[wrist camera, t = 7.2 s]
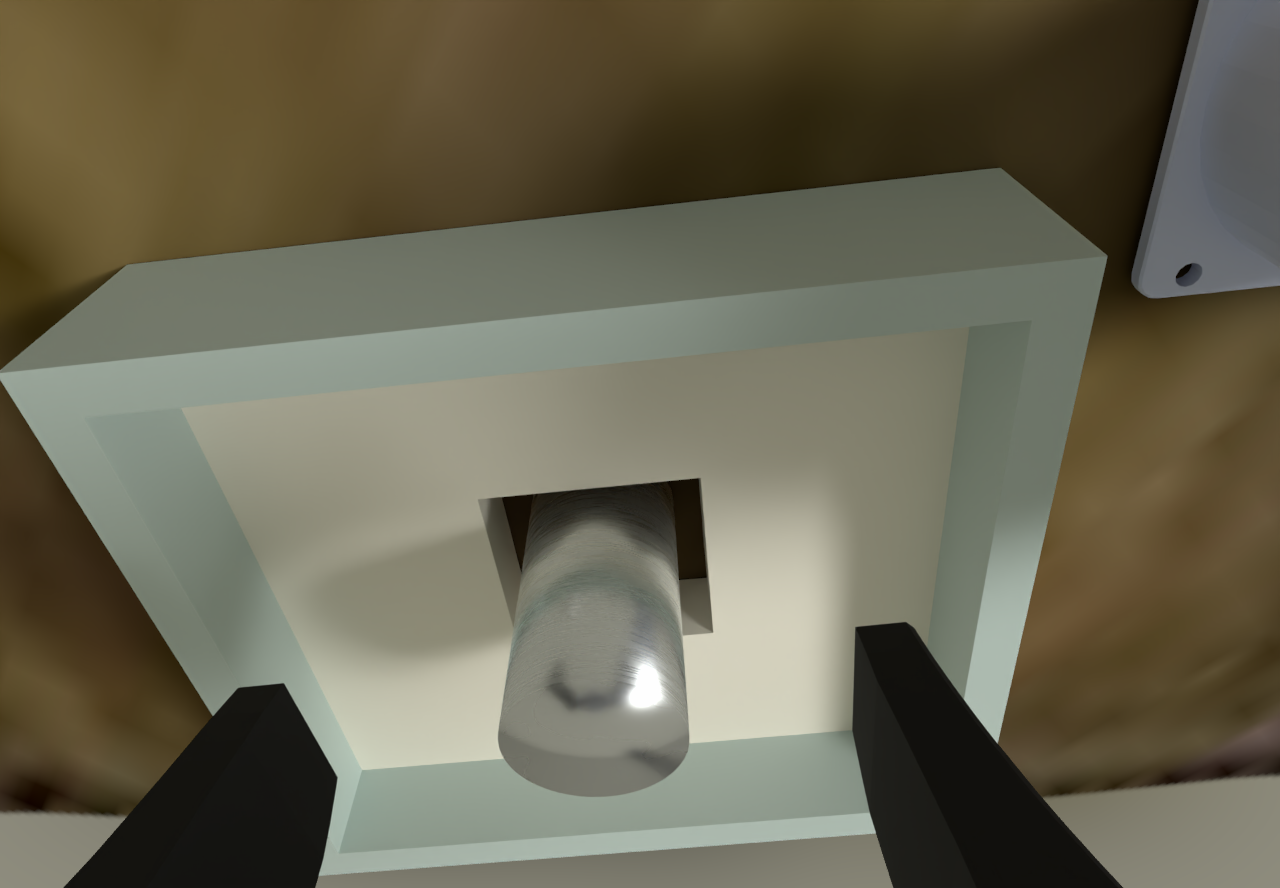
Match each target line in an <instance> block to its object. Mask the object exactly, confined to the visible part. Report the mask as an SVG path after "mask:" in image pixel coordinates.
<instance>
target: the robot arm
mask: <svg viewBox="0 0 1280 888" xmlns="http://www.w3.org/2000/svg"><path fill="white" fill-rule="evenodd" d="M1191 263H1192V266H1191V268H1190V270H1189V271H1188V273H1186V274H1185V275H1184V276H1183V277H1180V278H1177V279H1176V275H1177V273H1178V272H1179V270H1180V269H1181V268H1183V267H1184V266H1185V265H1187V264H1191ZM1131 282H1132V283H1133V285H1134V287H1135V288H1136V289H1137V290H1138V291H1139V292H1140V293H1142V294H1143V295H1145V296H1147V297H1148V298H1166V297H1176V296H1185V295H1195V294H1205V293H1214V292H1224V291H1234V290H1243V289H1253V288H1263V287H1272V286H1280V0H1199V2H1198V6H1197V10H1196V14H1195V18H1194V22H1193V26H1192V31H1191V35H1190V39H1189V43H1188V47H1187V51H1186V55H1185V59H1184V63H1183V67H1182V71H1181V75H1180V79H1179V83H1178V87H1177V91H1176V95H1175V100H1174V104H1173V108H1172V112H1171V116H1170V120H1169V124H1168V128H1167V132H1166V136H1165V140H1164V144H1163V148H1162V152H1161V156H1160V160H1159V164H1158V168H1157V173H1156V177H1155V181H1154V185H1153V189H1152V193H1151V197H1150V201H1149V205H1148V209H1147V213H1146V217H1145V221H1144V225H1143V229H1142V233H1141V237H1140V241H1139V246H1138V250H1137V254H1136V258H1135V262H1134V266H1133V270H1132V279H1131ZM852 732H853V737H854V742H855V746H856V751H857V756H858V761H859V766H860V770H861V775H862V780H863V784H864V789H865V794H866V798H867V803H868V807H869V812H870V815H871V819H872V822H873V825H874V828H875V831H876V835H877V838H878V841H879V844H880V847H881V850H882V854H883V857H884V860H885V863H886V866H887V869H888V872H889V876H890V879H891V882H892V885H893V888H1123V887H1122V886H1121V885H1120V884H1119V883H1118V882H1117V881H1116V880H1115V878H1114V877H1113V876H1112V875H1111V874H1110V873H1109V872H1108V871H1107V870H1106V869H1105V868H1104V867H1103V866H1102V865H1101V864H1100V862H1099V861H1098V860H1097V859H1096V858H1095V857H1094V856H1093V855H1092V854H1091V853H1090V851H1089V850H1088V849H1087V848H1086V847H1085V846H1084V845H1083V844H1082V842H1081V841H1080V840H1079V839H1078V838H1077V837H1076V836H1075V835H1074V834H1073V833H1072V831H1071V830H1070V829H1069V828H1068V827H1067V826H1066V825H1065V824H1064V822H1063V821H1062V820H1061V819H1060V818H1059V817H1058V816H1057V814H1056V813H1055V812H1054V811H1053V810H1052V809H1051V808H1050V806H1049V805H1048V804H1047V803H1046V802H1045V801H1044V799H1043V798H1042V797H1041V796H1040V795H1039V794H1038V792H1037V791H1036V790H1035V789H1034V788H1033V786H1032V785H1031V784H1030V783H1029V781H1028V780H1027V779H1026V778H1025V777H1024V775H1023V774H1022V773H1021V772H1020V770H1019V769H1018V768H1017V767H1016V766H1015V764H1014V763H1013V762H1012V761H1011V759H1010V758H1009V757H1008V756H1007V755H1006V753H1005V752H1004V751H1003V750H1002V748H1001V747H1000V746H999V745H998V744H997V742H996V741H995V740H994V738H993V737H992V736H991V735H990V733H989V732H988V731H987V730H986V728H985V727H984V726H983V724H982V723H981V722H980V720H979V719H978V718H977V717H976V715H975V714H974V713H973V711H972V710H971V708H970V707H969V706H968V704H967V703H966V702H965V700H964V699H963V698H962V696H961V695H960V694H959V692H958V691H957V690H956V688H955V687H954V686H953V684H952V683H951V681H950V680H949V679H948V677H947V676H946V674H945V673H944V672H943V670H942V669H941V667H940V666H939V664H938V663H937V661H936V660H935V659H934V657H933V656H932V654H931V653H930V651H929V650H928V648H927V647H926V645H925V644H924V642H923V641H922V639H921V637H920V636H919V634H918V633H917V631H916V630H915V628H914V627H913V626H911V625H910V624H908V623H907V622H899V623H889V624H879V625H869V626H859V627H855V653H854V688H853V722H852ZM337 780H338V777H337V775H336V773H335V772H334V770H333V768H332V766H331V765H330V763H329V761H328V759H327V758H326V756H325V754H324V752H323V751H322V749H321V747H320V745H319V744H318V742H317V740H316V738H315V737H314V735H313V733H312V731H311V730H310V728H309V726H308V724H307V723H306V721H305V719H304V717H303V716H302V714H301V712H300V710H299V709H298V707H297V705H296V703H295V702H294V700H293V698H292V696H291V695H290V693H289V691H288V689H287V688H286V686H285V684H284V683H280V684H270V685H260V686H250V687H240V688H237V689H236V691H235V692H234V693H233V694H232V695H231V696H230V697H229V698H228V700H227V701H226V702H225V703H224V704H223V705H222V706H221V708H220V709H219V710H218V711H217V712H216V713H215V714H214V716H213V717H212V718H211V719H210V720H209V721H208V723H207V724H206V725H205V726H204V727H203V729H202V730H201V731H200V732H199V733H198V734H197V736H196V737H195V738H194V739H193V740H192V742H191V743H190V744H189V745H188V746H187V747H186V749H185V750H184V751H183V752H182V753H181V755H180V756H179V757H178V758H177V759H176V760H175V762H174V763H173V764H172V765H171V766H170V768H169V769H168V770H167V771H166V772H165V773H164V775H163V776H162V777H161V778H160V779H159V780H158V782H157V783H156V784H155V785H154V786H153V788H152V789H151V790H150V791H149V792H148V793H147V794H146V796H145V797H144V798H143V799H142V800H141V801H140V802H139V804H138V805H137V806H136V807H135V808H134V809H133V811H132V812H131V813H130V814H129V815H128V816H127V817H126V819H125V820H124V821H123V822H122V823H121V824H120V826H119V827H118V828H117V829H116V830H115V831H114V833H113V834H112V835H111V836H110V837H109V838H108V839H107V841H106V842H105V843H104V844H103V845H102V846H101V847H100V849H99V850H98V851H97V852H96V853H95V855H93V856H92V858H91V859H90V860H89V861H88V862H87V863H86V864H85V865H84V866H83V867H82V868H81V869H80V870H79V872H78V873H77V874H76V875H75V876H74V877H73V878H72V879H71V880H70V881H69V882H68V884H66V886H65V887H64V888H315V886H316V883H317V879H318V876H319V873H320V869H321V866H322V862H323V858H324V853H325V848H326V843H327V838H328V833H329V828H330V823H331V816H332V810H333V804H334V798H335V792H336V786H337Z"/></svg>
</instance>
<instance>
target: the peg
mask: <svg viewBox="0 0 1280 888" xmlns="http://www.w3.org/2000/svg"><path fill="white" fill-rule="evenodd" d="M689 738H690V737H689V722H688V707H687V692H686V678H685V663H684V648H683V633H682V619H681V604H680V589H679V574H678V560H677V545H676V530H675V515H674V501H673V494H672V490H671V487H670V485H669V483H668V481H663V482H653V483H643V484H632V485H622V486H611V487H601V488H591V489H580V490H570V491H559V492H549V493H539V494H533V499H532V505H531V512H530V519H529V526H528V533H527V539H526V546H525V553H524V560H523V567H522V573H521V580H520V587H519V594H518V601H517V607H516V614H515V621H514V628H513V635H512V641H511V648H510V655H509V662H508V669H507V675H506V682H505V689H504V696H503V703H502V709H501V716H500V723H499V730H498V744H499V749H500V751H501V754H502V756H503V758H504V759H505V761H506V762H507V763H508V765H509V766H510V767H511V768H512V769H513V770H514V771H515V772H517V773H518V774H519V775H520V776H522V777H523V778H525V779H526V780H528V781H530V782H532V783H534V784H536V785H538V786H540V787H543V788H545V789H548V790H551V791H555V792H558V793H563V794H567V795H574V796H583V797H607V796H617V795H623V794H628V793H632V792H636V791H639V790H642V789H645V788H648V787H650V786H652V785H654V784H656V783H658V782H660V781H662V780H663V779H665V778H666V777H668V776H669V775H670V774H672V773H673V772H674V771H675V770H676V769H677V768H678V767H679V766H680V764H681V763H682V761H683V760H684V758H685V756H686V754H687V752H688V748H689Z"/></svg>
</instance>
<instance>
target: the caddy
mask: <svg viewBox="0 0 1280 888" xmlns="http://www.w3.org/2000/svg"><path fill="white" fill-rule="evenodd" d="M1107 257H1108V256H1107V255H1106V254H1105V253H1104V252H1102V251H1101V250H1100V249H1099V248H1098V247H1096V246H1095V245H1094V244H1093V243H1091V242H1090V241H1089V240H1088V239H1087V238H1085V237H1084V236H1083V235H1082V234H1081V233H1079V232H1078V231H1077V230H1076V229H1074V228H1073V227H1072V226H1071V225H1070V224H1068V223H1067V222H1066V221H1065V220H1063V219H1062V218H1061V217H1060V216H1059V215H1057V214H1056V213H1055V212H1054V211H1053V210H1051V209H1050V208H1049V207H1048V206H1046V205H1045V204H1044V203H1043V202H1042V201H1040V200H1039V199H1038V198H1037V197H1036V196H1034V195H1033V194H1032V193H1031V192H1029V191H1028V190H1027V189H1026V188H1025V187H1023V186H1022V185H1021V184H1020V183H1019V182H1017V181H1016V180H1015V179H1014V178H1012V177H1011V176H1010V175H1009V174H1008V173H1006V172H1005V171H1004V170H1003V169H1002V168H993V169H984V170H975V171H966V172H957V173H948V174H939V175H930V176H921V177H912V178H903V179H894V180H885V181H876V182H867V183H858V184H849V185H840V186H831V187H822V188H813V189H804V190H795V191H786V192H777V193H768V194H759V195H750V196H741V197H732V198H723V199H714V200H705V201H696V202H687V203H678V204H669V205H660V206H651V207H642V208H632V209H623V210H614V211H605V212H596V213H587V214H578V215H569V216H560V217H551V218H542V219H533V220H524V221H515V222H506V223H497V224H488V225H479V226H470V227H461V228H452V229H443V230H434V231H425V232H416V233H407V234H398V235H389V236H380V237H371V238H362V239H353V240H344V241H335V242H326V243H317V244H308V245H299V246H290V247H281V248H272V249H263V250H254V251H245V252H236V253H227V254H218V255H209V256H200V257H191V258H182V259H173V260H164V261H155V262H146V263H137V264H128V265H126V266H125V267H124V268H123V269H121V270H120V271H119V272H118V273H116V274H115V275H114V276H113V277H112V278H110V279H109V280H108V281H107V282H106V283H104V284H103V285H102V286H101V287H100V288H98V289H97V290H96V291H95V292H94V293H92V294H91V295H90V296H89V297H88V298H86V299H85V300H84V301H83V302H82V303H80V304H79V305H78V306H77V307H76V308H74V309H73V310H72V311H71V312H70V313H68V314H67V315H66V316H65V317H64V318H62V319H61V320H60V321H59V322H58V323H56V324H55V325H54V326H53V327H52V328H50V329H49V330H48V331H47V332H46V333H44V334H43V335H42V336H41V337H39V338H38V339H37V340H36V341H35V342H33V343H32V344H31V345H30V346H29V347H27V348H26V349H25V350H24V351H23V352H21V353H20V354H19V355H18V356H17V357H15V358H14V359H13V360H12V361H11V362H9V363H8V364H7V365H6V366H5V367H3V368H2V369H1V370H0V380H1V382H2V383H3V385H4V387H5V388H6V390H7V391H8V393H9V395H10V396H11V398H12V399H13V401H14V402H15V404H16V406H17V407H18V409H19V410H20V412H21V414H22V415H23V417H24V418H25V420H26V421H27V423H28V425H29V426H30V428H31V429H32V431H33V432H34V434H35V436H36V437H37V439H38V440H39V442H40V444H41V445H42V447H43V448H44V450H45V451H46V453H47V455H48V456H49V458H50V459H51V461H52V463H53V464H54V466H55V467H56V469H57V470H58V472H59V474H60V475H61V477H62V478H63V480H64V481H65V483H66V485H67V486H68V488H69V489H70V491H71V493H72V494H73V496H74V497H75V499H76V500H77V502H78V504H79V505H80V507H81V508H82V510H83V512H84V513H85V515H86V516H87V518H88V519H89V521H90V523H91V524H92V526H93V527H94V529H95V530H96V532H97V534H98V535H99V537H100V538H101V540H102V542H103V543H104V545H105V546H106V548H107V549H108V551H109V553H110V554H111V556H112V557H113V559H114V561H115V562H116V564H117V565H118V567H119V568H120V570H121V572H122V573H123V575H124V576H125V578H126V579H127V581H128V583H129V584H130V586H131V587H132V589H133V591H134V592H135V594H136V595H137V597H138V598H139V600H140V602H141V603H142V605H143V606H144V608H145V610H146V611H147V613H148V614H149V616H150V617H151V619H152V621H153V622H154V624H155V625H156V627H157V628H158V630H159V632H160V633H161V635H162V636H163V638H164V640H165V641H166V643H167V644H168V646H169V647H170V649H171V651H172V652H173V654H174V655H175V657H176V659H177V660H178V662H179V663H180V665H181V666H182V668H183V670H184V671H185V673H186V674H187V676H188V677H189V679H190V681H191V682H192V684H193V685H194V687H195V689H196V690H197V692H198V693H199V695H200V696H201V698H202V700H203V701H204V703H205V704H206V706H207V708H208V709H209V711H210V712H211V714H212V715H213V716H214V714H215V713H216V712H217V711H218V710H219V709H220V708H221V706H222V705H223V704H224V703H225V702H226V701H227V700H228V698H229V697H230V696H231V695H232V694H233V693H234V692H235V691H236V689H237V688H240V687H250V686H260V685H270V684H280V683H284V684H285V686H286V688H287V689H288V691H289V693H290V695H291V696H292V698H293V700H294V702H295V703H296V705H297V707H298V709H299V710H300V712H301V714H302V716H303V717H304V719H305V721H306V723H307V724H308V726H309V728H310V730H311V731H312V733H313V735H314V737H315V738H316V740H317V742H318V744H319V745H320V747H321V749H322V751H323V752H324V754H325V756H326V758H327V759H328V761H329V763H330V765H331V766H332V768H333V770H334V772H335V773H336V775H337V777H338V780H337V786H336V792H335V798H334V804H333V810H332V816H331V823H330V828H329V833H328V838H327V843H326V848H325V853H324V858H323V862H322V866H321V869H320V873H319V876H321V875H335V874H347V873H361V872H374V871H386V870H400V869H413V868H427V867H440V866H453V865H466V864H479V863H492V862H504V861H519V860H532V859H545V858H558V857H571V856H584V855H597V854H610V853H623V852H635V851H636V852H637V851H650V850H663V849H676V848H689V847H701V846H715V845H728V844H742V843H755V842H768V841H781V840H794V839H806V838H819V837H833V836H847V835H859V834H871V833H872V834H873V833H876V831H875V828H874V825H873V822H872V819H871V815H870V812H869V807H868V803H867V798H866V794H865V789H864V784H863V780H862V775H861V770H860V766H859V761H858V756H857V751H856V746H855V742H854V737H853V732H852V722H853V688H854V653H855V627H859V626H869V625H879V624H889V623H899V622H907V623H908V624H910V625H911V626H913V627H914V628H915V630H916V631H917V633H918V634H919V636H920V637H921V639H922V641H923V642H924V644H925V645H926V647H927V648H928V650H929V651H930V653H931V654H932V656H933V657H934V659H935V660H936V661H937V663H938V664H939V666H940V667H941V669H942V670H943V672H944V673H945V674H946V676H947V677H948V679H949V680H950V681H951V683H952V684H953V686H954V687H955V688H956V690H957V691H958V692H959V694H960V695H961V696H962V698H963V699H964V700H965V702H966V703H967V704H968V706H969V707H970V708H971V710H972V711H973V713H974V714H975V715H976V717H977V718H978V719H979V720H980V722H981V723H982V724H983V726H984V727H985V728H986V730H987V731H988V732H989V733H990V735H991V736H992V737H993V738H994V740H995V741H996V742H997V743H998V739H999V735H1000V730H1001V726H1002V721H1003V717H1004V712H1005V708H1006V704H1007V699H1008V695H1009V690H1010V686H1011V682H1012V677H1013V673H1014V668H1015V664H1016V659H1017V655H1018V651H1019V646H1020V642H1021V637H1022V633H1023V628H1024V624H1025V620H1026V615H1027V611H1028V606H1029V602H1030V597H1031V593H1032V589H1033V584H1034V580H1035V575H1036V571H1037V567H1038V562H1039V558H1040V553H1041V549H1042V544H1043V540H1044V536H1045V531H1046V527H1047V522H1048V518H1049V513H1050V509H1051V505H1052V500H1053V496H1054V491H1055V487H1056V482H1057V478H1058V474H1059V469H1060V465H1061V460H1062V456H1063V452H1064V447H1065V443H1066V438H1067V434H1068V429H1069V425H1070V421H1071V416H1072V412H1073V407H1074V403H1075V398H1076V394H1077V390H1078V385H1079V381H1080V376H1081V372H1082V367H1083V363H1084V359H1085V354H1086V350H1087V345H1088V341H1089V336H1090V332H1091V328H1092V323H1093V319H1094V314H1095V310H1096V306H1097V301H1098V297H1099V292H1100V288H1101V283H1102V279H1103V275H1104V270H1105V266H1106V261H1107ZM695 478H698V479H699V491H700V503H701V515H702V526H703V538H704V550H705V562H706V574H707V578H697V579H686V580H679V589H680V604H681V619H682V633H683V648H684V663H685V678H686V692H687V707H688V722H689V737H690V738H689V748H688V752H687V754H686V756H685V758H684V760H683V761H682V763H681V764H680V766H679V767H678V768H677V769H676V770H675V771H674V772H673V773H672V774H670V775H669V776H668V777H666V778H665V779H663V780H662V781H660V782H658V783H656V784H654V785H652V786H650V787H648V788H645V789H642V790H639V791H636V792H632V793H628V794H623V795H617V796H607V797H583V796H574V795H567V794H563V793H558V792H555V791H551V790H548V789H545V788H543V787H540V786H538V785H536V784H534V783H532V782H530V781H528V780H526V779H525V778H523V777H522V776H520V775H519V774H518V773H517V772H515V771H514V770H513V769H512V768H511V767H510V766H509V765H508V763H507V762H506V761H505V759H504V758H503V756H502V754H501V751H500V749H499V744H498V730H499V723H500V716H501V709H502V703H503V696H504V689H505V682H506V675H507V669H508V662H509V655H510V648H511V641H512V635H513V628H514V621H515V614H516V607H517V601H518V594H519V587H520V580H521V570H520V566H519V562H518V558H517V555H516V551H515V547H514V543H513V539H512V535H511V531H510V527H509V524H508V520H507V516H506V512H505V508H504V504H503V500H502V497H507V496H518V495H528V494H539V493H549V492H559V491H570V490H580V489H591V488H601V487H611V486H622V485H632V484H643V483H653V482H663V481H674V480H684V479H695Z"/></svg>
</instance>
